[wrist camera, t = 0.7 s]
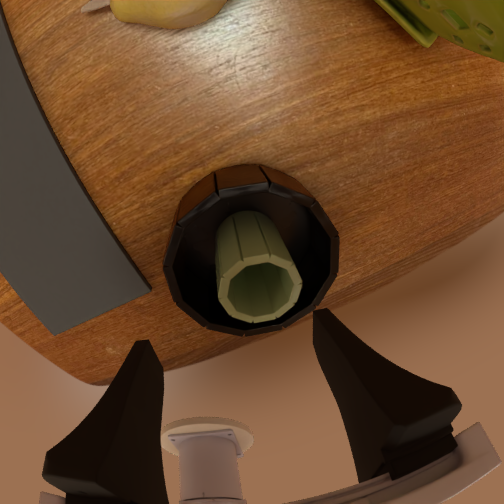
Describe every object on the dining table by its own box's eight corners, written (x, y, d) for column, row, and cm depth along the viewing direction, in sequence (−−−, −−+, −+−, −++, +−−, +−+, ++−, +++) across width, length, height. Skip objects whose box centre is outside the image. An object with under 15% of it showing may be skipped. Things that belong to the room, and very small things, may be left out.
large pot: (317, 282, 25) (336, 318, 21) (190, 305, 24) (189, 345, 20) (313, 155, 19) (339, 172, 15) (156, 180, 19) (143, 204, 15)
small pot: (281, 260, 22) (303, 313, 17) (219, 271, 22) (225, 328, 17) (276, 205, 20) (301, 247, 15) (208, 216, 20) (210, 264, 15)
